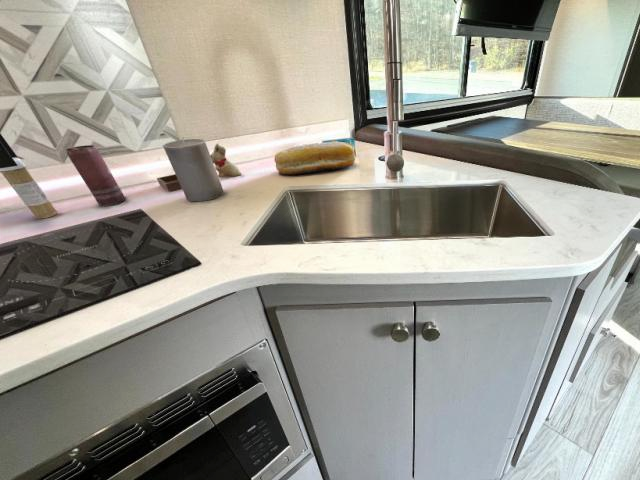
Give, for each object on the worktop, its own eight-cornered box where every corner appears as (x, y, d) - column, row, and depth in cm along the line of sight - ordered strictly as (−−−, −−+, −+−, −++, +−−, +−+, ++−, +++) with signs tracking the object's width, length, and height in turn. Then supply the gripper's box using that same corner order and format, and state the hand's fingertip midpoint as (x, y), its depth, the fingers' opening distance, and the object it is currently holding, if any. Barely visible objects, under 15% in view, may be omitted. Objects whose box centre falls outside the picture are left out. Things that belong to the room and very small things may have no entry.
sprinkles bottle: (42, 213, 82) (1, 158, 73) (63, 211, 82) (24, 156, 74) (31, 220, 78) (-15, 163, 70) (52, 218, 79) (10, 161, 71)
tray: (169, 192, 92) (165, 184, 91) (160, 185, 98) (156, 178, 96) (208, 182, 99) (205, 175, 97) (197, 177, 104) (194, 169, 102)
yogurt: (325, 159, 118) (322, 141, 114) (324, 158, 119) (321, 140, 115) (356, 155, 121) (354, 137, 117) (355, 154, 122) (353, 137, 118)
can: (103, 200, 88) (70, 146, 80) (129, 197, 90) (99, 143, 81) (94, 207, 84) (57, 151, 75) (121, 204, 85) (88, 148, 77)
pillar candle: (217, 187, 94) (196, 132, 85) (229, 195, 88) (207, 136, 79) (182, 196, 89) (155, 137, 80) (191, 204, 83) (164, 142, 74)
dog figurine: (230, 171, 108) (219, 139, 102) (243, 174, 105) (233, 141, 99) (215, 175, 105) (202, 142, 99) (228, 179, 101) (216, 145, 95)
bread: (360, 169, 106) (357, 143, 101) (279, 180, 99) (272, 152, 94) (350, 160, 116) (347, 136, 111) (276, 169, 109) (269, 144, 104)
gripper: (-59, 38, 54) (33, 167, 67) (-44, 47, 69) (29, 151, 82) (-130, 38, 50) (-17, 175, 63) (-98, 47, 65) (-12, 157, 78)
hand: (9, 162), depth 72 cm, fingers open, 13 cm apart
